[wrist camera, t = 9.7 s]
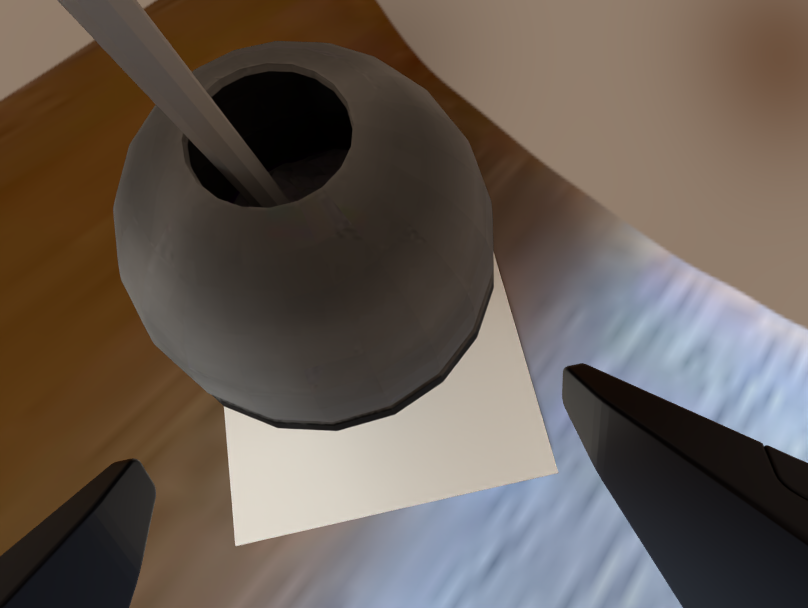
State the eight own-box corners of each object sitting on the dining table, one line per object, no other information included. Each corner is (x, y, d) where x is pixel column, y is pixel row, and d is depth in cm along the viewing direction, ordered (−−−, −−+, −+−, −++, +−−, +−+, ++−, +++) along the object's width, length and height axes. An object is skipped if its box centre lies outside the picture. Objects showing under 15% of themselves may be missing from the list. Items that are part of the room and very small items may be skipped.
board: (549, 470, 20) (558, 472, 19) (246, 539, 19) (235, 545, 18) (473, 206, 24) (476, 194, 23) (220, 254, 23) (211, 244, 22)
